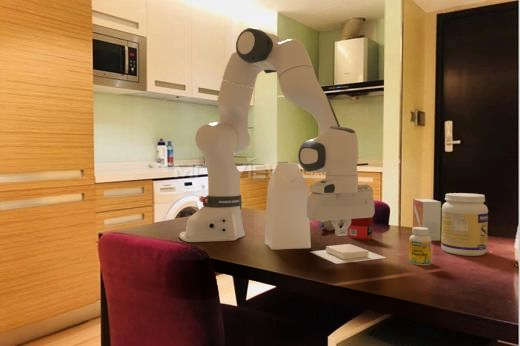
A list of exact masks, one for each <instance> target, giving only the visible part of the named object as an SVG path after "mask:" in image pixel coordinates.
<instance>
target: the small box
mask: <svg viewBox="0 0 520 346" xmlns="http://www.w3.org/2000/svg"><path fill="white" fill-rule="evenodd" d="M441 224H442V201H438V200H435V199H431V198H413V199H412V228H413V227H425V228H428V229H429V233H428V234H427V236H429V237H430V238H431V242H432V241H435V242H436V241H438V242H439V241H441Z"/></svg>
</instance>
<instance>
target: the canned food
mask: <svg viewBox="0 0 520 346" xmlns="http://www.w3.org/2000/svg"><path fill="white" fill-rule="evenodd" d="M373 218H374V216H373V217H368V218H355V219H351V224H350V226H349V228H348V229H347V235H348V238H350V239H354V240H355V239H356V240H358V241H362V242H364V241H365V242H366V241H367V242H368V241H371V240H373V239H372V238H373V221H374V219H373Z"/></svg>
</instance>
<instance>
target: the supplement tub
mask: <svg viewBox="0 0 520 346" xmlns="http://www.w3.org/2000/svg"><path fill="white" fill-rule="evenodd" d="M444 200H445V201H446V202H444V203H443V204H442V205H441V232H440V241H441V243H440V245H441V246H440V247H441V249H442V250H443V251H444V252H446V253H449V254H452V255H458V256H466V257H469V256H470V257H473V256H474V257H476V256H477V257H478V256H483V255H485V254H486V252H487V251H488V224H489V223H488V221H489V219H488V218H489V216H488V215H489V213H488V212H489V209H488V206H487V205H486V204H484V203H485V202H486V196H485V194H479V193H467V192H466V193H465V192H463V193H462V192H459V193H458V192H457V193H456V192H453V193H451V192H449V193H446V194H445V198H444Z"/></svg>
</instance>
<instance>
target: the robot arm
mask: <svg viewBox="0 0 520 346" xmlns="http://www.w3.org/2000/svg"><path fill="white" fill-rule="evenodd" d="M314 69H315V68H314V66H313V63H312V59H311V58H310V55H309V53H308V50H307V49H306V47H305V45H304V44H303V42H302V41H300V39H299V40H298V39H295V38H291V39H282V38H281V37H279V36H277V35H276V34H274V33H270V32H267V31H264V30H262V29H260V28H257V27H247V28H245V29H243V30H242V31H241V32H240V34H239V35H238V36H237V38H236V43H235V51H234V52H233V53H231V56H230V57H229V59H228V61H227V63H226V66H225V69H224V71H223V76H222V79H221V84H220V88H219V92H218V95H217V100H216V104H217V107H218V110H219V122H216V121H215V122H210V123H209V122H208V123H205V124H203V125H201V126H200V127H199V128H198V130H197V131H196V133H195V137H194V139H195V140H194V141H195V145H196V147H197V149H199V151H200V152H201V154H202V156H203V159H204V163H205V166H206V170H207V183H208V184H207V186H208V187H207V190H208V191H207V194H208V195H206V196H203V195H201V196H199V201H200V202H201V203H202V207H201V208H199V209H198V210H197V211H196V212H195V213H193V214H192V215H191V216H189V217H188V219H187V221H186V227H185V231H181V232H180V233H179V238H180V240H182V241H184V242H188V243H201V242H202V243H204V242H226V241H228V242H229V241H236V240H237V239H240V238H243V237H245V235H246V234H245V231H244V226H243V219H242V207H243V201H242V195H241V172H240V170H239V169H238V167H237V165H236V163H235V162H236V161H235V157H234V156H237V155H239V154H241V153H243V152H245V151H246V150H247V149H248V148H249V145H250V143H251V137H250V134H249V130H248V127H249V126H248V123H249V121H248V118H249V110H250V104H251V101H252V97H253V94H254V90H255V89H254V88H255V87H256V86H255V85H256V80H257V78H258V75H259V74H260V73H261V72H262V71H264V73H265V74H271V73H276V75H277V79H278V83H279V87H280V91H281V93H282V95H283V96H284V98H285V100H286V101H288V102H290V103H291V104H292V105H294V106H297V107H299V108H301V109H303V110H304V111H306V112H307V113H309V114H310V115H311V116H312V117H313V118H314V119H315V121H316V123H317V124H316V125H317V126H318V129H319V131H320V135H319V136H316V137H314V138H312V139H308V140H305V141H304V142H303V143H301V145H300V147H299V148H298V152H297V153H298V154H297V155H298V156H297V159H298V162H299V164H300V167H301V168H302V169H303V170H304V171H306V172H309V173H325V178H323V179H322V180H318V181H316V182H314V183H310V185H309V186H308V191H309V192H310V194H309V197H308V200H307V217H308V219H309V220H310V221H312V222H319V221H328V220H332V222H331V223H332V225H333V226H334V228H335V229H334V234H335V236H336V237H337V236H338V237H339V236H341V237H342V236H347V235H348V228H349V226H350V224H351V219H355V218H368V217H373V218H374V215H375V212H376V211H375V210H376V209H375V200H374V189H373V187H372V186H370V184H359V171H358V166H357V165H358V162H359V139H358V135H357V132H356V130H354V129H353V128H351V127H350V128H349V127H344V126H341V125H340V123H339V120H338V118H337V115H336V112H335V110H334V108H333V105H332V103H331V101H330V100H329V97H328V96H327V94H326V93H325V92H324V90H323V88H322V87H321V85H320V82H319V80H318V78H317V75H316V73H315V70H314ZM341 219H343V222H344V224H343V225H342V226H340V227H341V228H340V227H339V225H338V224H340V220H341Z"/></svg>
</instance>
